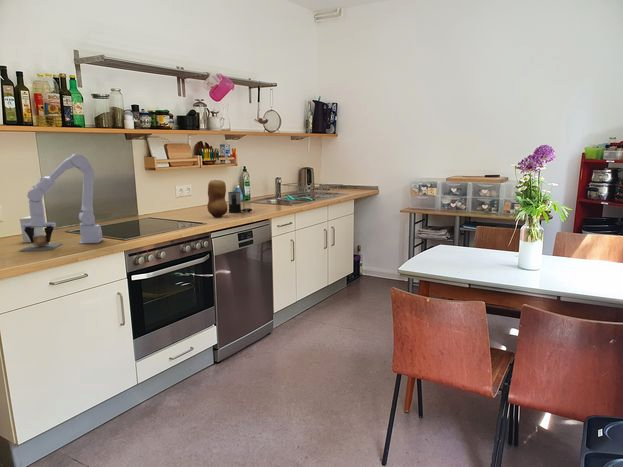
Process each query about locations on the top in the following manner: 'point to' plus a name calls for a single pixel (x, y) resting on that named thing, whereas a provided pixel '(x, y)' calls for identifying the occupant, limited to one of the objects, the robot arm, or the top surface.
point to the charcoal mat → (41, 247)
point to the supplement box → (36, 230)
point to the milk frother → (235, 203)
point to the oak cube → (40, 240)
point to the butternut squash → (217, 198)
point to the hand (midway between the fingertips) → (40, 242)
